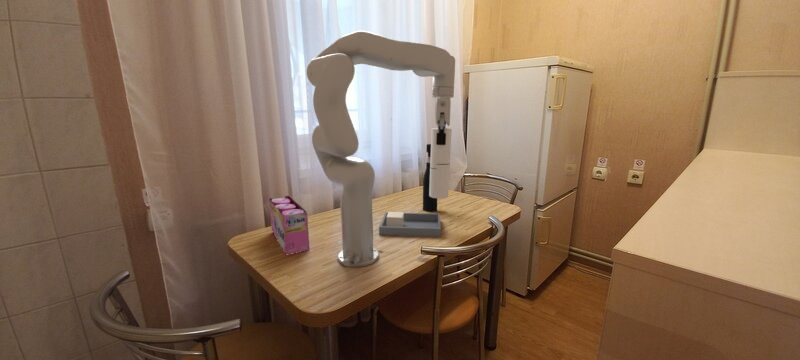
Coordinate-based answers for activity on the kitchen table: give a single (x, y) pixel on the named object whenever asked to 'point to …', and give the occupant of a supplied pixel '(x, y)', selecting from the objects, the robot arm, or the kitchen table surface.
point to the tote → (414, 225)
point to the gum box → (289, 224)
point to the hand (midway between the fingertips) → (440, 143)
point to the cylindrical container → (439, 166)
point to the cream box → (395, 219)
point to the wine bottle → (428, 201)
